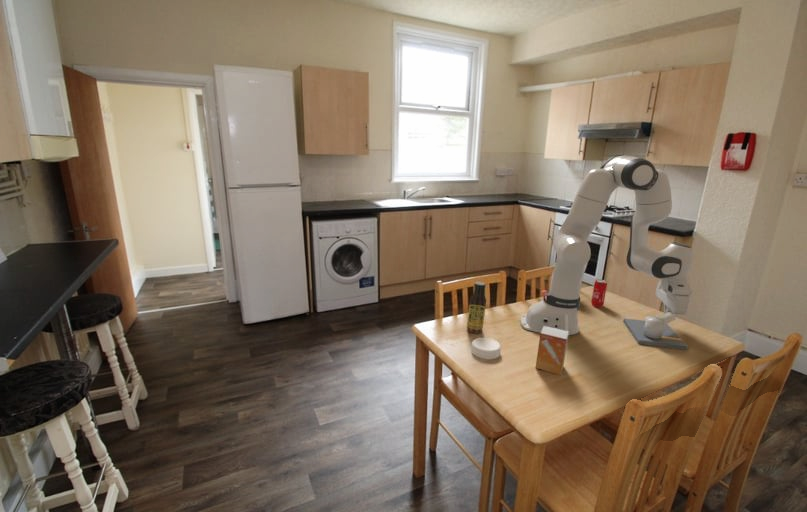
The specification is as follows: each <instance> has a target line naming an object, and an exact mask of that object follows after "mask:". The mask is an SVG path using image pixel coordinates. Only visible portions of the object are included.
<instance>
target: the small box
mask: <svg viewBox="0 0 807 512" xmlns="http://www.w3.org/2000/svg"><path fill="white" fill-rule="evenodd" d="M569 336H570V335H569V331H564V330H560V329H556V328H551V327H546V326H543V329H542V331H541V333H540V334H539V341H538V346H537V347H538V349H537V353H536V363H535V369H538V370H543V371H545V372H549V373H553V374H556V375H559V376H561V375H562V372H563V369H564V364H565V359H566V354H567V353H566V352H567V348H568V347H567V346H568V341H569Z"/></svg>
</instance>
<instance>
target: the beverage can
mask: <svg viewBox="0 0 807 512" xmlns="http://www.w3.org/2000/svg"><path fill="white" fill-rule="evenodd" d="M607 287H608V282H607V281H606V280H605V279H595V280H594V285H593V288H592V289H593V290H592V295H591V306H593V307H597V308H602V307H603V305H605V304H604V303H605V298H606V292H607Z"/></svg>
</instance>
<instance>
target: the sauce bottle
mask: <svg viewBox="0 0 807 512" xmlns="http://www.w3.org/2000/svg"><path fill="white" fill-rule="evenodd" d="M473 286H474V291H473V294H472V296H470V298H469V299H470V301H469V306H468V313H467V322H466V329H467V331H468V332H469V333H473V334H478V333H479V334H480V333H481V332H482V331H483V328H484V320H485V314H486V305H487V304H486V303H487V298H486V296H485V288H486V283H485V282H483V281H475V282H474V285H473Z"/></svg>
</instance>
